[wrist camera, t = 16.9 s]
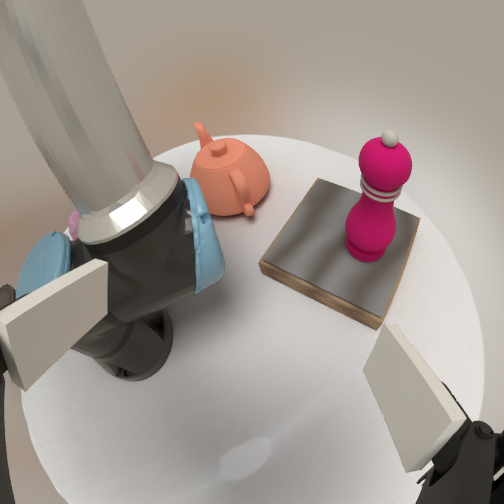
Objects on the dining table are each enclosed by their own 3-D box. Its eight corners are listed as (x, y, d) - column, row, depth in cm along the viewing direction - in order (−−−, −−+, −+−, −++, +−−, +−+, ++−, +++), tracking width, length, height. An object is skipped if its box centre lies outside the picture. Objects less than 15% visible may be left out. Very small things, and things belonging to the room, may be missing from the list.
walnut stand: (261, 273, 44) (257, 260, 41) (317, 191, 52) (317, 175, 48) (376, 330, 36) (383, 322, 33) (414, 230, 43) (421, 216, 40)
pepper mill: (333, 235, 41) (341, 120, 24) (371, 219, 41) (392, 109, 25) (358, 273, 37) (387, 161, 20) (397, 253, 37) (438, 145, 21)
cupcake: (84, 242, 57) (59, 216, 49) (110, 218, 59) (87, 191, 51) (93, 264, 53) (65, 238, 44) (122, 239, 55) (96, 209, 46)
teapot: (182, 178, 61) (162, 136, 51) (242, 149, 63) (230, 105, 53) (217, 244, 49) (193, 197, 39) (292, 205, 51) (286, 152, 40)
